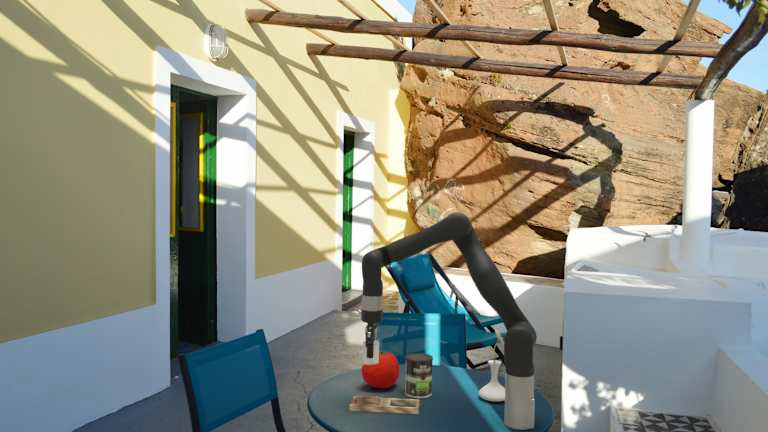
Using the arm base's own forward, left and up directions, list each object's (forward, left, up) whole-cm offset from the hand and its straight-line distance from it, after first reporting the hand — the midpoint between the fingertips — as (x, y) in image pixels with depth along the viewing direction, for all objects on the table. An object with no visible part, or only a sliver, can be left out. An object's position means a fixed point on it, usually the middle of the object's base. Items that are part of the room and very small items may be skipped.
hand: (370, 355), depth 213 cm
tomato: (-1, -20, -18) cm, 28 cm away
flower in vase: (-44, -14, -18) cm, 50 cm away
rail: (-5, +1, -18) cm, 19 cm away
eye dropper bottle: (0, 0, -3) cm, 3 cm away
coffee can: (-16, -15, -18) cm, 29 cm away
